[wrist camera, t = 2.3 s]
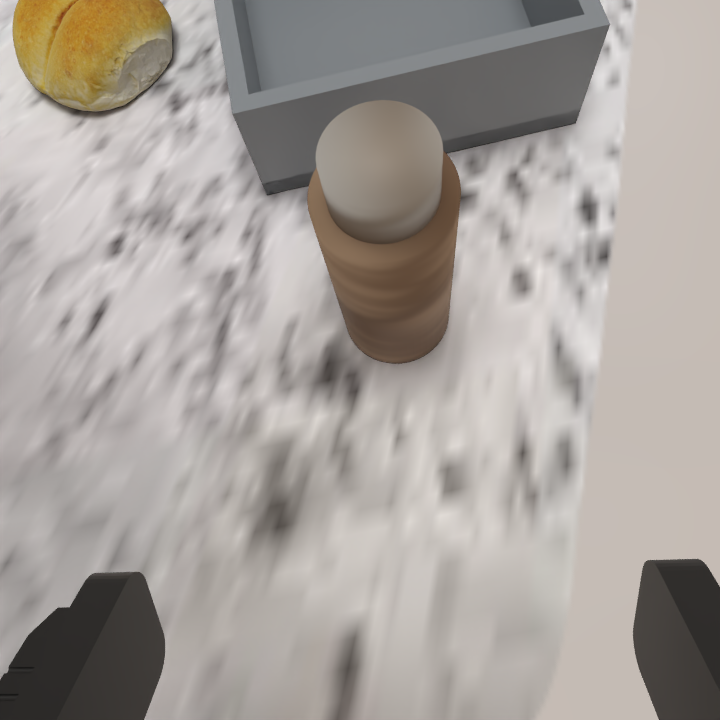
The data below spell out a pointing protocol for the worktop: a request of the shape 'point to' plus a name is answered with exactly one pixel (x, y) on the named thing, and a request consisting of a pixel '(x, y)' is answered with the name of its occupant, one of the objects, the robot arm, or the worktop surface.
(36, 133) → the worktop surface
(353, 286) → the pepper mill
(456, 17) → the bin
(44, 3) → the bread roll
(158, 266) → the worktop surface
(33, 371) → the worktop surface
